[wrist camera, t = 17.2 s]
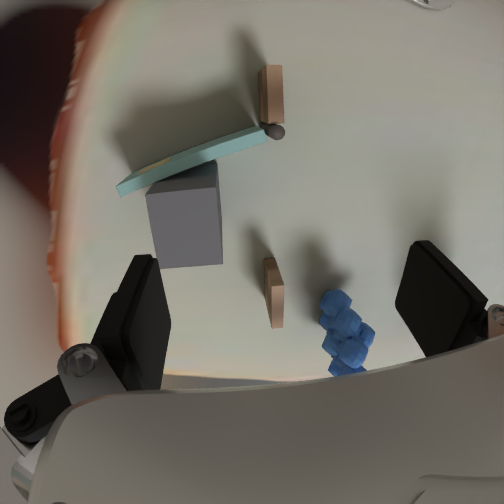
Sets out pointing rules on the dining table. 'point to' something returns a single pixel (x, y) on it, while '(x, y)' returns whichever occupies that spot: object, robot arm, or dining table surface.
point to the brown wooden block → (270, 116)
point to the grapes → (344, 334)
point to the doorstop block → (187, 218)
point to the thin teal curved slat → (191, 158)
